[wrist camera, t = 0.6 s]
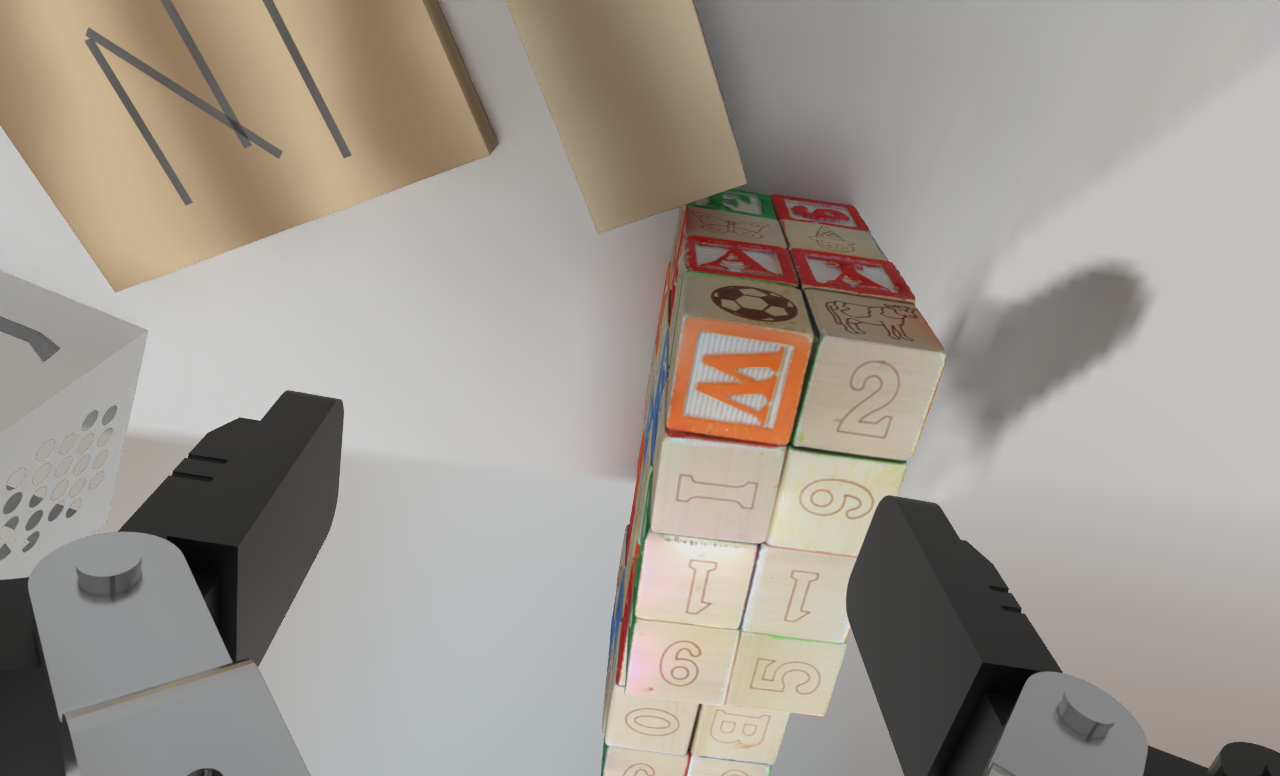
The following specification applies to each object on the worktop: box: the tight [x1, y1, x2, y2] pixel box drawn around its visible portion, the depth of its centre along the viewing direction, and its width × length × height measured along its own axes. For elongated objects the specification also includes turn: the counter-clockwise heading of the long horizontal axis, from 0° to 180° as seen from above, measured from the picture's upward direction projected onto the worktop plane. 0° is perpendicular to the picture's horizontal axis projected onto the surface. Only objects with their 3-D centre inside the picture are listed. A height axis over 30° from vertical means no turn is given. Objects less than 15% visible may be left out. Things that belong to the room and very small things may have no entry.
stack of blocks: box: [601, 189, 946, 776], centre depth 30 cm, size 21×6×12 cm, turn 172°
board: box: [0, 0, 498, 292], centre depth 28 cm, size 15×10×2 cm, turn 110°
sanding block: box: [506, 0, 747, 234], centre depth 25 cm, size 4×9×6 cm, turn 20°
